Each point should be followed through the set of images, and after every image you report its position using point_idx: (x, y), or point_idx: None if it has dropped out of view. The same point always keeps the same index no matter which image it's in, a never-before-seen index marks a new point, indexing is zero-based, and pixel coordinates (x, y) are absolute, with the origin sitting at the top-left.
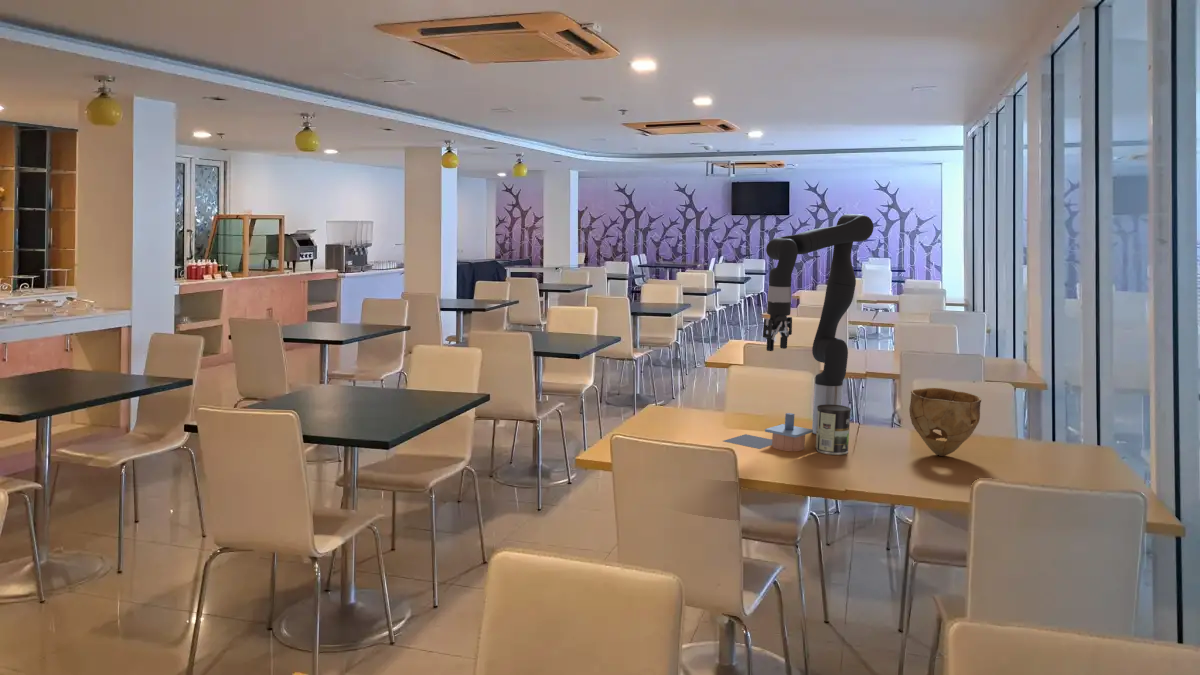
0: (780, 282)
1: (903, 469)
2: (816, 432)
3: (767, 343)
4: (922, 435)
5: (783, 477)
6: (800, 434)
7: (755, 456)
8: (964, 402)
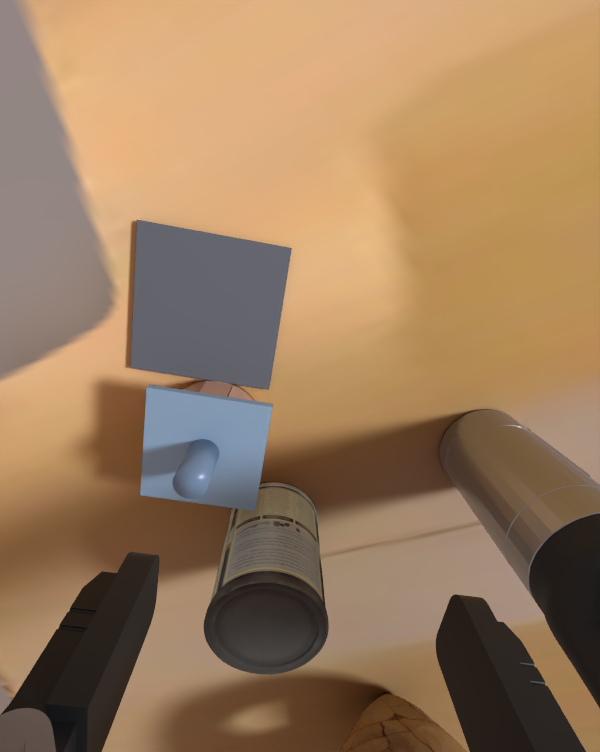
0: None
1: (214, 670)
2: (251, 517)
3: (48, 654)
4: (352, 734)
5: None
6: (171, 497)
7: (63, 381)
8: None
